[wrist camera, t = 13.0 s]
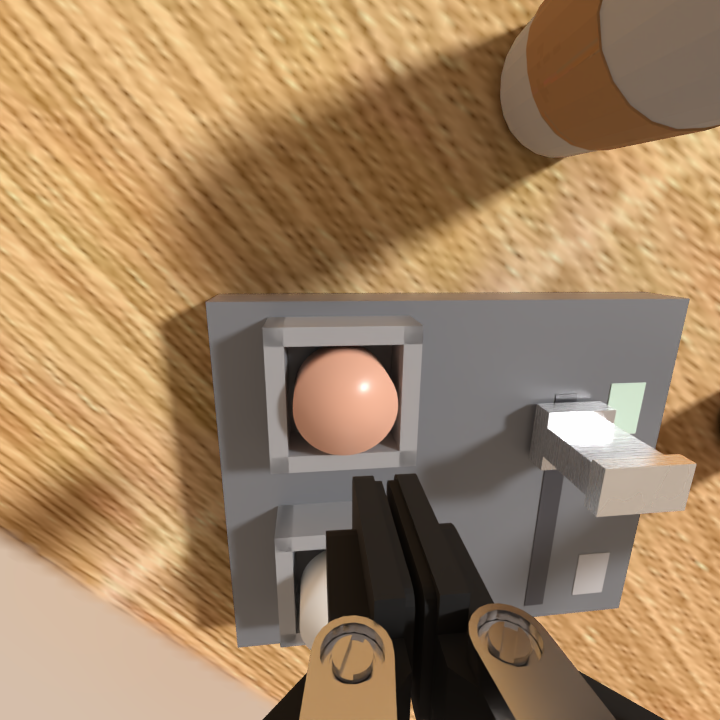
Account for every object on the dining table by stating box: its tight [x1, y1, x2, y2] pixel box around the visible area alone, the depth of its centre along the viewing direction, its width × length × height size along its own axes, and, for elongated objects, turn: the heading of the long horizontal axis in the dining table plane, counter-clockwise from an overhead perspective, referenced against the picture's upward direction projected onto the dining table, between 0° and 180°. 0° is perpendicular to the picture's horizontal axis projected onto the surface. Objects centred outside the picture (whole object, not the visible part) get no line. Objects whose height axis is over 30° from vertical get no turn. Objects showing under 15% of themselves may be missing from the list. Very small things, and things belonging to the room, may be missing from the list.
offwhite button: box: [300, 550, 328, 650], centre depth 20 cm, size 4×4×2 cm
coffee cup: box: [500, 0, 720, 158], centre depth 13 cm, size 8×8×15 cm
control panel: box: [206, 292, 690, 648], centre depth 23 cm, size 20×24×6 cm
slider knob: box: [529, 401, 697, 517], centre depth 19 cm, size 3×4×6 cm
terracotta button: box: [293, 345, 398, 455], centre depth 18 cm, size 4×4×2 cm
